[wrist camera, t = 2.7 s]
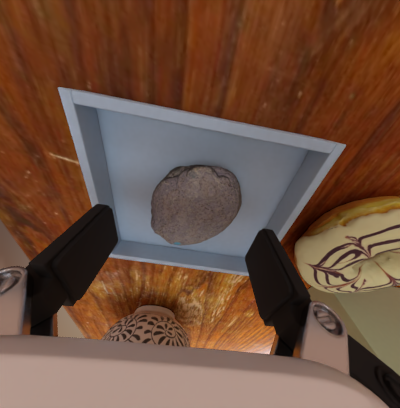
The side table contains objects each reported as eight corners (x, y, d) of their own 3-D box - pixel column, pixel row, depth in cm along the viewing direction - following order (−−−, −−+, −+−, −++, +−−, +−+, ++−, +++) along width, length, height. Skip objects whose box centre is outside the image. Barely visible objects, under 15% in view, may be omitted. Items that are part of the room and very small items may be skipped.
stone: (258, 200, 12) (268, 217, 10) (188, 245, 15) (186, 263, 13) (204, 135, 10) (204, 140, 8) (133, 205, 13) (121, 221, 11)
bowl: (185, 334, 32) (179, 390, 25) (109, 321, 29) (82, 379, 23) (212, 303, 23) (215, 374, 17) (110, 281, 21) (68, 356, 14)
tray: (320, 138, 10) (347, 144, 8) (250, 259, 17) (256, 277, 15) (88, 91, 9) (56, 86, 7) (118, 240, 16) (106, 257, 14)
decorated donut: (266, 236, 15) (282, 270, 12) (396, 158, 10) (480, 180, 7) (314, 277, 18) (337, 312, 15) (428, 233, 14) (494, 270, 11)
